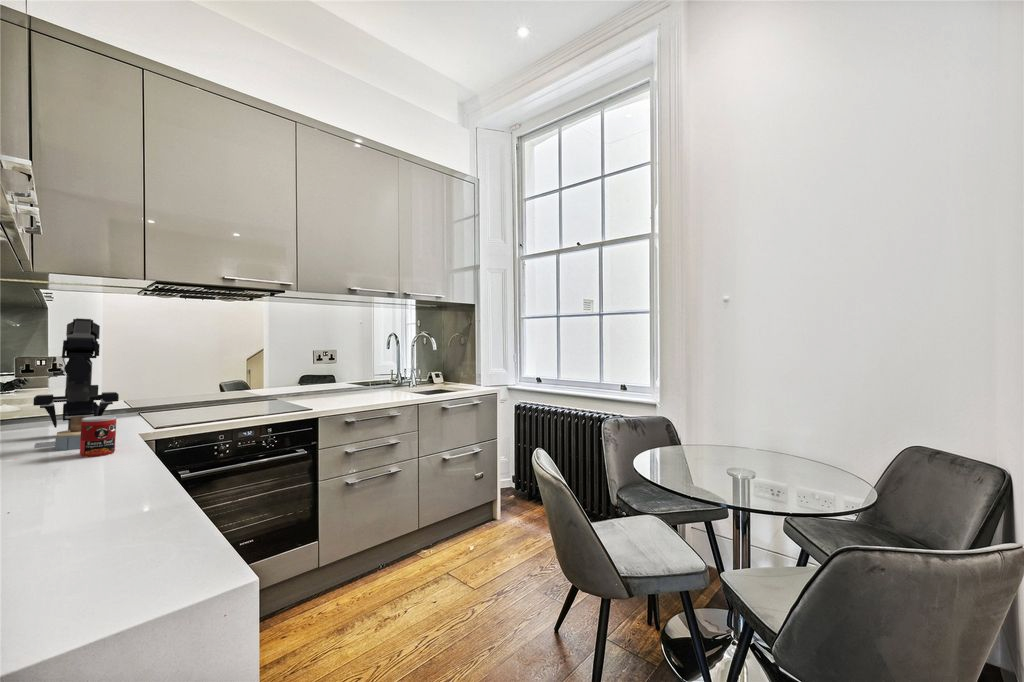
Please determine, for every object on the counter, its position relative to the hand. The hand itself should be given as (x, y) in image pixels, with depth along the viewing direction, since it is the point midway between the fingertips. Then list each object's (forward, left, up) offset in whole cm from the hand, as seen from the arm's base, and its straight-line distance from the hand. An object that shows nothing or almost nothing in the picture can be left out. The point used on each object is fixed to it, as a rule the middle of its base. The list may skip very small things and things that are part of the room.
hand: (76, 425), depth 136 cm
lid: (0, 0, -3) cm, 3 cm away
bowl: (0, 0, -7) cm, 7 cm away
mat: (-11, -5, -7) cm, 14 cm away
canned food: (+14, +5, -7) cm, 16 cm away
